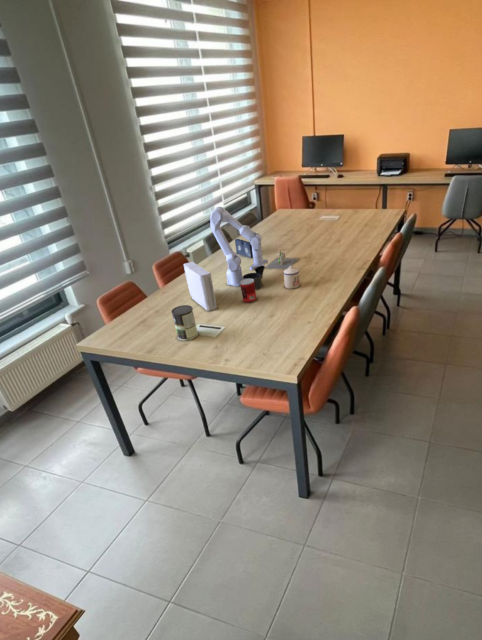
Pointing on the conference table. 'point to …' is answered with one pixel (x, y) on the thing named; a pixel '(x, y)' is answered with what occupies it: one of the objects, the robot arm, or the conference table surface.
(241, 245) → the vhs cassette tape
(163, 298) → the conference table surface
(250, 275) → the pot
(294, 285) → the teacup with lid
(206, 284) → the game console
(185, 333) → the coffee can
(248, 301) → the canned food
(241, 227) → the robot arm
